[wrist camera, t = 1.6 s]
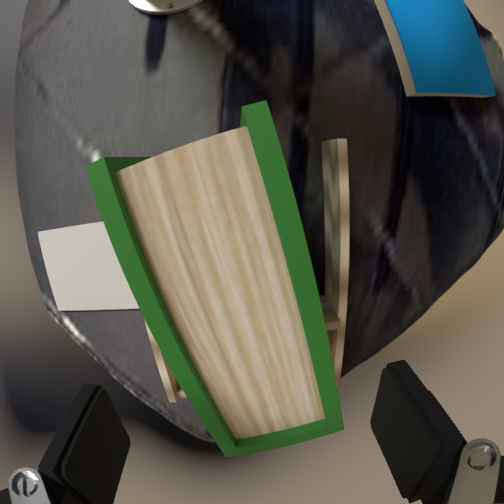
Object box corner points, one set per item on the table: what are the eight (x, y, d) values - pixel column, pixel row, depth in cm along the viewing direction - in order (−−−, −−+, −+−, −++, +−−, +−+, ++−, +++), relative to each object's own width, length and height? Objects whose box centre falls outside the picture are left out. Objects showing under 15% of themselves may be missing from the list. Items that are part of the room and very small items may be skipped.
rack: (134, 159, 33) (112, 159, 26) (329, 141, 33) (350, 138, 26) (175, 375, 42) (168, 407, 35) (328, 361, 42) (341, 392, 36)
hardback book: (184, 161, 33) (85, 166, 10) (246, 141, 33) (266, 100, 10) (230, 296, 38) (226, 457, 15) (286, 280, 38) (344, 429, 15)
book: (418, 94, 28) (356, -59, 21) (401, 99, 32) (346, -45, 25) (499, 96, 28) (445, -40, 20) (481, 98, 32) (432, -31, 24)
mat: (39, 231, 34) (37, 232, 34) (123, 218, 35) (122, 219, 34) (60, 309, 38) (58, 310, 37) (141, 306, 38) (140, 308, 38)
